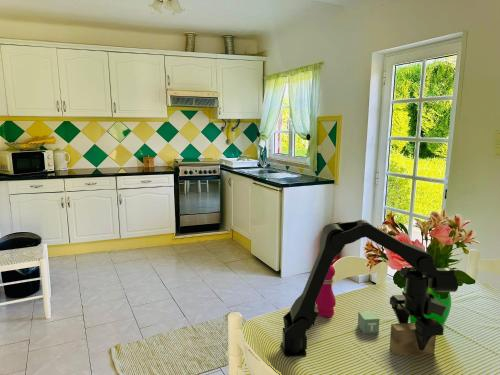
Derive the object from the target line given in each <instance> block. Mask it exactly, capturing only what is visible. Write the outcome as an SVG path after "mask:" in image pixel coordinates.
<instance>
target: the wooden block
mask: <svg viewBox="0 0 500 375" xmlns="http://www.w3.org/2000/svg"><path fill="white" fill-rule="evenodd" d="M414 329H416V327H415V322H408V323H400V324H399V323H391V324H390V335H389V336H390V337H389V350H390V351H391V352H392V354H393V355H394V356H395V357H396V356H409V355H410V356H411V355H427V354H435V353H436V352H435V351H436V350H435V349H436V338H437V335H436V336H432V337H431V338H430V340H429V341H428V343H427V345H426V347H425V348H424V350H419V347H418V343H417V339H416V334H415V330H414Z"/></svg>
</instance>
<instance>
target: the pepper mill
mask: <svg viewBox="0 0 500 375" xmlns="http://www.w3.org/2000/svg"><path fill="white" fill-rule="evenodd" d="M335 275H336V270H335V267H334V265H332V264H331V266H330V269H329V271H328V273H327V276H326V278H325V281H324V283H323V285H322V288H321V290H320V293H319V295H318V297H317V300H316V302H315V304H316V306H317V309H318V312H319V314H318V317H323V318H331V317H333V316H334V315H335V309H334V307H335V306H336V297H335V294H334V291H333V286H332V285H333V283H334V277H335Z"/></svg>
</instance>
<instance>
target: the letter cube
mask: <svg viewBox="0 0 500 375" xmlns="http://www.w3.org/2000/svg"><path fill="white" fill-rule="evenodd" d="M357 313H358V314H357V326H358V328H359V329H360V331H361V332H362V333H363V334H364V335H365V334H378V333H380V317H379V316H378V315H377V314H376V313H375V312H374V310H368V311H367V310H365V311H358V312H357Z"/></svg>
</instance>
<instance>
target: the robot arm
mask: <svg viewBox="0 0 500 375" xmlns="http://www.w3.org/2000/svg"><path fill="white" fill-rule="evenodd" d="M363 238H367V239H368V240H370V241H371V242H374V243H376V244H377V245H379V246H381V247H383V248H385V249H386V250H388V251H389V252H392V253H393V254H395V255H397V256H399V257H400V258H401V259H402V260H404V261H405V262H406V264H408V265H409V266H411V267H412V269H410V268H408V267H407V266H405V267H404V268H403V269H401V270H399V272H398V274H400V276H402V277H403V278H404V279H406V280H405V290H402V291H401V294H394V295H391V297H389V305H391V309H392V310H393V313H394V314H395V317H396V319H397V321H398V324H400V323H409V320H410V317H413V318H414V319H416V321H414V323H415V327H416V329H414V330H415V334H416V339H417V343H418V347H419V350H424V348H425V347H426V345H427V343H428V341H429V340H430V338H431V337H432V336H436V337H437V336H444V332H445V331H444V330H445V327H444V326H443V325H442V324H441V323H440V322H439V321H437V319H435V317H434V318H433V317H429V318H427V317H426V316H432V314H434V315H437V316H439V317H444V314H445V311H446V309H447V305H445V304H443V303H442V302H441V301H439V300H438V299H436V298H435V295H434V294H432V293H431V292H429V290H428V288H429V289H431V291H432V292H434V293H455V292H457V291H458V290H459V289H458V288H459V283H458V279H457V276H456V274H455V273H456V271H455V269H453V268H452V267H443V268H442V267H437V268H436V266H435V264H434V257H433V256H432V255H431V254H430V253H428V252H427V251H426V250H424V249H423V248H421V247H420V246H417V245H415V244H411V243H407V242H404V241H401V240H399V239H398V238H395V237H394V236H392V235H390V234H388V233H387V232H385V231H383V230H381V229H380V228H378V227H376V226H375V225H373V224H371V223H370V222H368V221H367V220H365V219H358V220H355V221H347V222H340V223H332V222H331V223H328V224H326V225H324V227H323V228H322V230H321V236H320V239H319V240H320V241H319V250H318V254H317V256H316V259H315V261H314V264H313V266H312V269H311V271H310V274H309V276H308V278H307V281H306V283H305V286H304V288H303V290H302V292H301V294H300V295H299V296H298V297H297V298H296V299H295V301H294V302H293V304H292V305H291V307H290V310H289V311H288V312H287V313H286V314H285V315H283V317H282V319H283V320H282V321H283V328H282V341H281V343H280V345H281V347H282V351H283V354H284V356H285V357H295V356H296V357H299V356H307V348H308V336H307V334H306V333H307V331H309V330H310V329H311V328H312V327H313V326H315V321H316V319H317V318H318V317H319V315H318V314H319V312H318V309H317V305H316V303H315V302H316V300H317V297H318V295H319V293H320V290H321V288H322V285H323V283H324V281H325V278H326V276H327V273H328V271H329V269H330V266H331V265H332V263H333V262H334V260H335V259H336V257H338V255H340V254H341V253H342V251H343V250H344V248H345V246H346V245H349V244H353V243H355V242H356V241H359V240H360V239H363Z"/></svg>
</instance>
